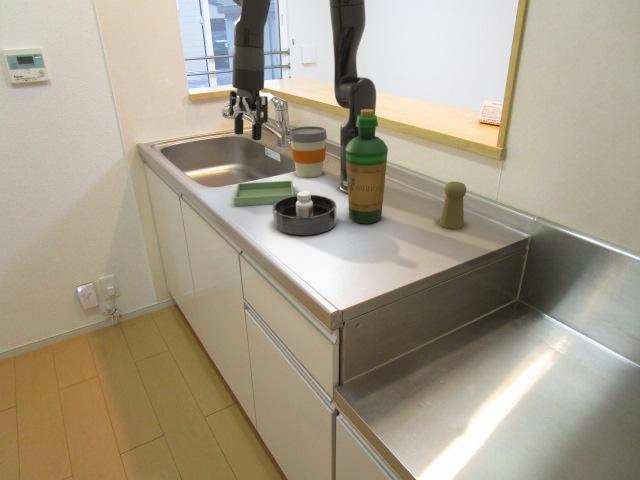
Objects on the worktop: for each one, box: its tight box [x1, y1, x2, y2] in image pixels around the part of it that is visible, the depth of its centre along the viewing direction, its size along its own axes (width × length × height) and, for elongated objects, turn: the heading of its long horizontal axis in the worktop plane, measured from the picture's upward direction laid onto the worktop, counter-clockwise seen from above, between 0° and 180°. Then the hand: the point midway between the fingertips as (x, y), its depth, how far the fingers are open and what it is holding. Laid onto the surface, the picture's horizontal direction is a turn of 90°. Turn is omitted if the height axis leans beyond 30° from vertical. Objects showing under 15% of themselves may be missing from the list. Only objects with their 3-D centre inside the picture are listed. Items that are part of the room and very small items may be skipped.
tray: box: [233, 180, 295, 207], centre depth 136 cm, size 17×13×2 cm
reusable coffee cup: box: [288, 125, 328, 179], centre depth 153 cm, size 13×13×15 cm
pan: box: [272, 194, 338, 236], centre depth 117 cm, size 16×16×5 cm
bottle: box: [346, 109, 389, 225], centre depth 113 cm, size 11×11×28 cm
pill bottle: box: [296, 191, 313, 217], centre depth 116 cm, size 4×4×8 cm
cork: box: [439, 181, 467, 230], centre depth 112 cm, size 6×6×11 cm
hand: (247, 137), depth 112 cm, fingers open, 8 cm apart
